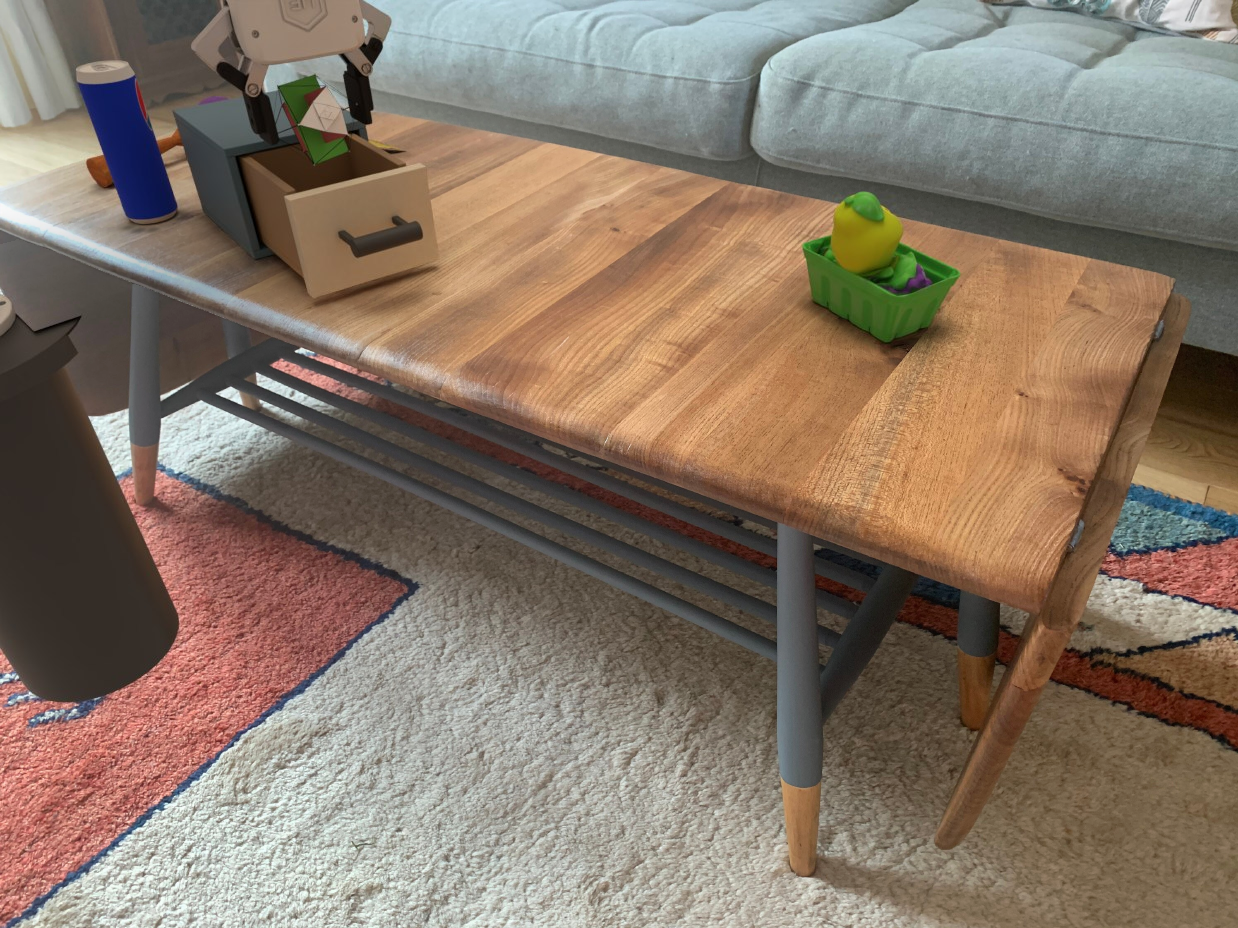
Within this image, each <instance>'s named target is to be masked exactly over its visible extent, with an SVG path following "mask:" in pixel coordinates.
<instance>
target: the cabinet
mask: <svg viewBox="0 0 1238 928" xmlns="http://www.w3.org/2000/svg"><path fill="white" fill-rule="evenodd" d="M279 92H280V90H279V91H278V89H276V90H273V91H267V92H263V93H264V94H266V95H267V96H268V97H269V99H270V102H271V107H272V111H273V115H274V119H275V123H276V120H277V117H278V114H279V111H280V108H281V101H282V104H283V103H284V102H285V101H284V99H283V97H282V94H281V92H280V96H279ZM276 95H277V97H276ZM280 97H281V100H280ZM228 99H229V100H223V101H218V102H212V103H207V104H202V105H198V104H197V105H192V106H191V105H190V106H186V107H181V108H176V109H172V110H171V111H172V114H173V118H174V121H175V124H176V127H177V128H178V131H179V134H180V137H181V141H182V144H183V146H182V147H183V150H184V153H185V157H186V160H187V163H188V167H189V170H190V173H191V177H192V179H193V182H194V186H195V189H196V192H197V197H198V199H199V202H200V203H199V204H200V206H201V209H202V212H203V213H204V214H205V215H206V216H207V217H209V219H210V220H211V221H212V222H213V223H215V224H216V225H217V226H218V227H219V228H220V229H221V230H222V231H223V232H224V233H225V234H226V235H228V236H229V237H230V238H231V239H232V240H234V242H235V243H236V244H237V245H238V246H239V247H240V248H242V249H243V250H244V251H245V252H246V253H247V254H248V255H249V256H250V257H251V258H252V259H253V260H258V259H259V260H260V259H263V258H266V257H269V256H274V255H276V254H275V253H274V252H273V251H272V250H271V249H270V248H269V247H268V246H266V245H265V244H264V243H263V242H262V241H261V240H260V237H259V234H258V230H257V226H256V223H255V219H254V215H253V212H252V208H251V204H250V201H249V197H248V193H247V190H246V186H245V182H244V179H243V175H242V171H241V168H240V164H239V160H238V157H237V155H242V154H246V153H251V152H256V151H260V150H265V149H270V148H274V147H279V146H283V145H288V144H293V143H297V142H299V141H298V139H297V137H296V135H295V133H294V131H293V129H289V130H286V129H288V128H291V127H292V126H291V124H290V122H289V120H288V118H287V116H286V114H285V112H284V109H283V107H282V108H281V111H280V114H279V117H278V120H277V123H276V128H277V132H278V136H279V139H280V140H282V141H280V140H279V142H278V144H275V145H270V144H269V143H267V142H266V141H264V140H263V139H261V138H260V136H259V134H255V133H254V132H253V130H252V128H251V125H250V121H249V117H248V113H247V109H246V105H245V102H244V98H243V96H240V97H235V98H228ZM275 103H276V105H275ZM284 104H285V103H284ZM340 107H341V109H345V108H344V107H342V106H340ZM274 111H275V113H274ZM342 112H343V116H344V120H345V124H346V127H347V131H349V130H350V132H352V133H354V134H356V135H357V136H359V137H361V138H363V139H364V140H366V141H368V142H369V140H368V139H369V135H368V130H367V125H365V124H363V123H361V122H359V121H357V120H355V119H354V118H352V117H351V115H350V110H349V109H345V110H343V111H342ZM352 119H353V121H352ZM351 123H352V124H351ZM353 123H354V125H353ZM350 127H351V128H350ZM177 128H176V129H177ZM352 129H353V131H352ZM283 130H286V131H284V132H281V131H283ZM279 132H281V133H279ZM283 141H284V142H283ZM281 142H282V143H281ZM285 142H286V143H285ZM287 143H288V144H287Z"/></svg>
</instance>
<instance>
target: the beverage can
mask: <svg viewBox="0 0 1238 928" xmlns="http://www.w3.org/2000/svg"><path fill="white" fill-rule="evenodd" d="M75 71H76V72H75V73H76V82H77V86H78V88H79V91H80V94H81V96H82V99H83V102H84V104H85V108H86V111H87V113H88V117H89V119H90V121H91V125H92V127H93V130H94V132H95V135H96V138H97V141H98V143H99V146H100V149H101V151H102V155H104V157H105V160H106V163H107V166H108V168H109V171H110V174H111V177H112V179H113V182H114V183H113V185H114V187H115V190H116V194H117V195H118V199H119V201H120V204H121V207H122V210H123V212H124V215H125V217H126V218H127V219H129V220H130V221H132V222H133V223H135V224H140V225H150V224H158V223H162V222H164V221H167V220H170V219H171V218H173V217H174V216H175V215H176V214H177V213H176V212H177V211H178V207H179V206H178V201H177V199H176V196H175V193H174V190H173V187H172V184H171V181H170V177H169V175H168V172H167V169H166V166H165V162H164V160H163V157H162V156H163V155H162V154H161V153H160V150H159V147H158V144H157V137H156V135H155V132H154V131H155V130H154V128H153V125H152V122H151V118H150V116H149V113H148V109H147V106H146V104H145V103H146V102H145V101H144V98H143V94H142V92H141V88H140V85H139V82H138V79H137V76H136V72H135V71H134V70H133V68H132V67H131V65H130V63H129V62H128V61H125V60H117V59H115V60H114V59H112V60H110V59H109V60H99V61H94V62H89V63H84V64H82V65H79V66H77V67H76V69H75Z"/></svg>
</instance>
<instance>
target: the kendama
mask: <svg viewBox="0 0 1238 928" xmlns="http://www.w3.org/2000/svg"><path fill="white" fill-rule="evenodd" d="M229 99H230V98H228V97H226V96H219V95H212V96H209V97H207V98H204V99H202V100H201V101H200V102H199V103H198V104H197V105H202V104H207V103H212V102H218V101H223V100H229ZM156 140H157V139H156ZM157 144H158V147H159V150H160V153H161V155H164V154H165V153H167V152H169V151H170V150H172V149H173V148H175V147H183V144H182V141H181V137H180V134H179V131H178V128H176V130H175V132H173V134H172V135H171V136H169V137H165V138H162V139H158V140H157ZM85 165H86V168H87V171H88V173H89V174H90V176H91V178H92V179H93V180H94V182H95V183H97V184H98V185H99V186H100V187H101V188H107V187H109V186H110V185H112V184H114V182H113V179H112V177H111V174H110V171H109V168H108V166H107V163H106V160H105V157H104V155H103V154H100V155H97V156H93V157H90V158H87V159H86V163H85Z"/></svg>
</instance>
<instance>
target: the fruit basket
mask: <svg viewBox="0 0 1238 928" xmlns="http://www.w3.org/2000/svg"><path fill="white" fill-rule="evenodd" d="M832 222H833V227H832V231H831V234H828V235H826V236H825V235H824V236H822V237H818V238H814V239H811V240H808V241H806V242H804V243H802V244H801V248H802V253H803V256H804V259H805V261H806V267H807V273H808V279H809V280H808V281H809V287H810V293H811V298H812V301H813V302H815V303H817V304H818V305H820V306H822V307H824V308H827V309H829V310H830V311H831V312H832V313H833V314H835V315H837V316H839V317H840V318H842V319H845V320H848V321H849V322H850V323H851V324H852V325H855V326H856V327H858V328H859V329H861V330H863V331H865V332H867V333H870V334H871V335H872V336H873V337H875V338H877V339H878V340H879V341H882V342H883V343H890V342H892V341H893V340H894V339H899V338H903V337H905V336H908V335H911V334H913V333H915V332H918V330H919V329H926V328H929V327H930V326H931V323H932V322H933V320H934V318H935V317H936V315H937V313H938V312H939V309H940V307H941V306H942V304H943V303H944V301H945V299H946V297H947V295H948V293H949V292H950V290H951V289H952V287H954V286H955V284H956V283H957V281H958V279H959V278H960V276H961V273H962V272H961V271H960V270H959V269H957V268H955V267H953V266H952V265H950V264H947V263H945V262H943V261H941V260H939V259H937V258H934V257H932V256H930V255H928V254H925V253H923V252H921V251H920V250H917V249H915V248H913V247H911V246H909V245H907V244H904V243H902V242H901V239H902V237H903V235H904V227H903V224H902V222H901V220H900V219H899V217H898V216H897V215H895V214H894V213H891V211H890V210H889V209H888V208H886V207H885V206H883V205H881V202H880V200H879V199H878V198H877V197H876V196H875V194H873V193H872V192H869V191H858V192H856V193H855V194H853V195H849V196H847V197H846V198H845V199H844V200H842V201H841V202H840V203H839V205H837V207H836V208H835V210H834V213H833V220H832Z"/></svg>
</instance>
